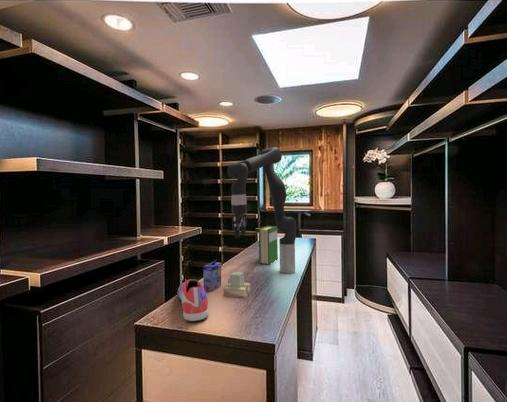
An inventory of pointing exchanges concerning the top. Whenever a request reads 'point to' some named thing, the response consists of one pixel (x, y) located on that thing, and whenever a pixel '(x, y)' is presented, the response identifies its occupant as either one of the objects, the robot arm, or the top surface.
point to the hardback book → (268, 245)
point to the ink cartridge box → (212, 276)
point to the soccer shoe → (193, 300)
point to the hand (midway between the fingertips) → (240, 236)
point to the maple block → (237, 290)
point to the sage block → (237, 279)
